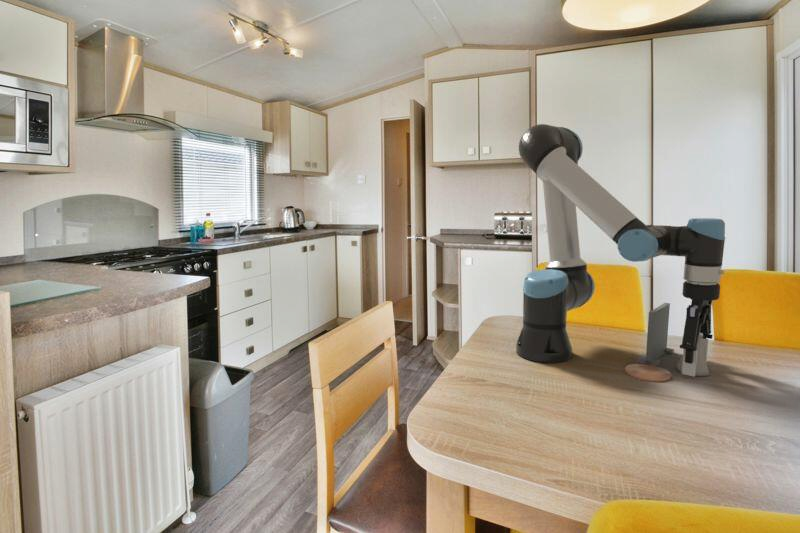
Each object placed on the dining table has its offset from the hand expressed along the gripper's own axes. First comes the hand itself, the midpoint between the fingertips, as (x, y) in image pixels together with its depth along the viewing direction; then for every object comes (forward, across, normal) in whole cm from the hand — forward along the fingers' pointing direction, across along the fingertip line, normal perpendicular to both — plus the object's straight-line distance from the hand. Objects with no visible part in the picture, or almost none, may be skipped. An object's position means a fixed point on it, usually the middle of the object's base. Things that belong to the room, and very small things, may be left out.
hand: (694, 368), depth 111 cm
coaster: (+1, -9, +8) cm, 12 cm away
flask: (+1, 0, 0) cm, 1 cm away
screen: (+1, +5, +10) cm, 11 cm away
